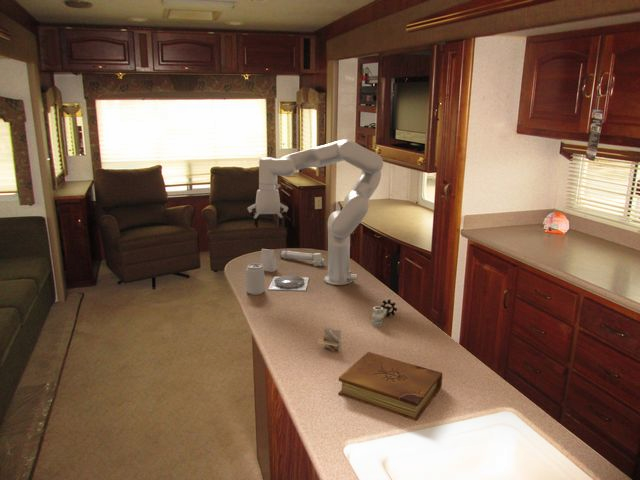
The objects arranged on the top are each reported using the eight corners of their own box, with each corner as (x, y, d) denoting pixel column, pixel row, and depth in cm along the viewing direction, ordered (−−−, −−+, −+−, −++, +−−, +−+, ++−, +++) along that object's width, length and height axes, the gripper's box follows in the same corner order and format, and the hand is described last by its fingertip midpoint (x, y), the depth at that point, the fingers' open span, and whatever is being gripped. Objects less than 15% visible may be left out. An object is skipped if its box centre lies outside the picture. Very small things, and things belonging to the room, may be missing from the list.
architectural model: (337, 355, 166) (337, 334, 164) (317, 352, 168) (317, 331, 166) (341, 351, 169) (341, 330, 167) (321, 347, 171) (321, 326, 169)
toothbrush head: (284, 249, 267) (325, 250, 253) (286, 261, 268) (326, 263, 254) (278, 251, 263) (319, 253, 249) (280, 264, 264) (320, 266, 250)
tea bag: (272, 271, 244) (272, 251, 241) (260, 270, 246) (259, 249, 244) (276, 269, 247) (276, 249, 244) (264, 267, 250) (263, 247, 247)
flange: (309, 278, 235) (309, 274, 235) (305, 290, 220) (305, 287, 219) (274, 277, 236) (274, 273, 236) (268, 289, 221) (268, 286, 221)
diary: (441, 389, 147) (442, 371, 146) (416, 423, 132) (417, 403, 131) (368, 367, 159) (369, 350, 157) (338, 395, 144) (338, 377, 142)
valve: (383, 329, 184) (397, 317, 194) (384, 311, 182) (397, 301, 192) (366, 325, 188) (381, 313, 197) (367, 308, 186) (381, 297, 196)
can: (268, 290, 220) (267, 263, 217) (258, 296, 213) (258, 269, 210) (253, 288, 223) (252, 261, 220) (243, 293, 216) (242, 266, 213)
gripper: (286, 185, 224) (286, 224, 228) (246, 185, 220) (246, 225, 225) (289, 188, 217) (289, 228, 221) (248, 188, 213) (248, 229, 218)
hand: (267, 226), depth 223 cm, fingers open, 9 cm apart
